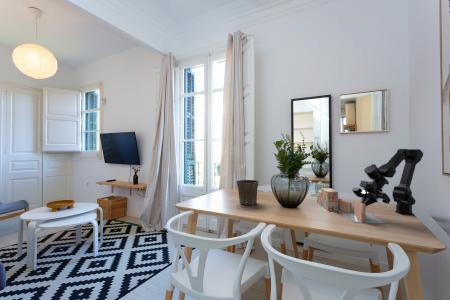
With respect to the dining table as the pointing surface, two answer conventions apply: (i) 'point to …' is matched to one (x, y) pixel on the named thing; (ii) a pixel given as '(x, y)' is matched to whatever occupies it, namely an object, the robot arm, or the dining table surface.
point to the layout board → (356, 220)
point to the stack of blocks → (328, 199)
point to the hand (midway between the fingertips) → (362, 206)
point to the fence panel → (359, 210)
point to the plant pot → (247, 191)
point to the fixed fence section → (344, 206)
